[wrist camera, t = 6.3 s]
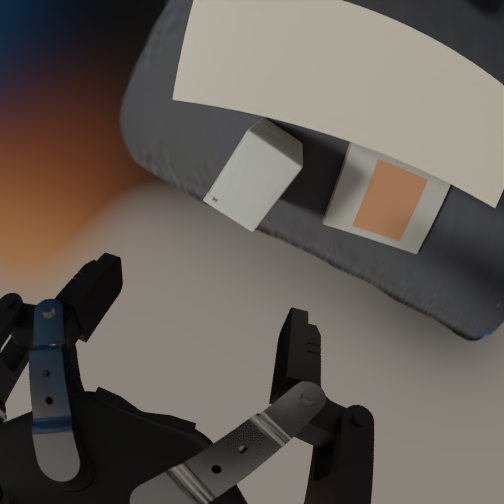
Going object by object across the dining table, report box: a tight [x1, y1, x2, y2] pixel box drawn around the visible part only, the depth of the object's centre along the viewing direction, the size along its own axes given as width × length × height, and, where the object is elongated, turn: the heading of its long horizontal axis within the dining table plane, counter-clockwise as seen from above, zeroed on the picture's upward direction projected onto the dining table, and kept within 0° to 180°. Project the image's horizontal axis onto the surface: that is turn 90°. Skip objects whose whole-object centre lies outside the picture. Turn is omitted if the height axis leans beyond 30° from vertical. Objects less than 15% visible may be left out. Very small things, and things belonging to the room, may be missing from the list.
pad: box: [323, 142, 451, 254], centre depth 33 cm, size 14×11×1 cm
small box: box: [203, 118, 303, 232], centre depth 29 cm, size 8×6×10 cm
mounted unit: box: [173, 0, 504, 208], centre depth 20 cm, size 24×10×18 cm, turn 78°
